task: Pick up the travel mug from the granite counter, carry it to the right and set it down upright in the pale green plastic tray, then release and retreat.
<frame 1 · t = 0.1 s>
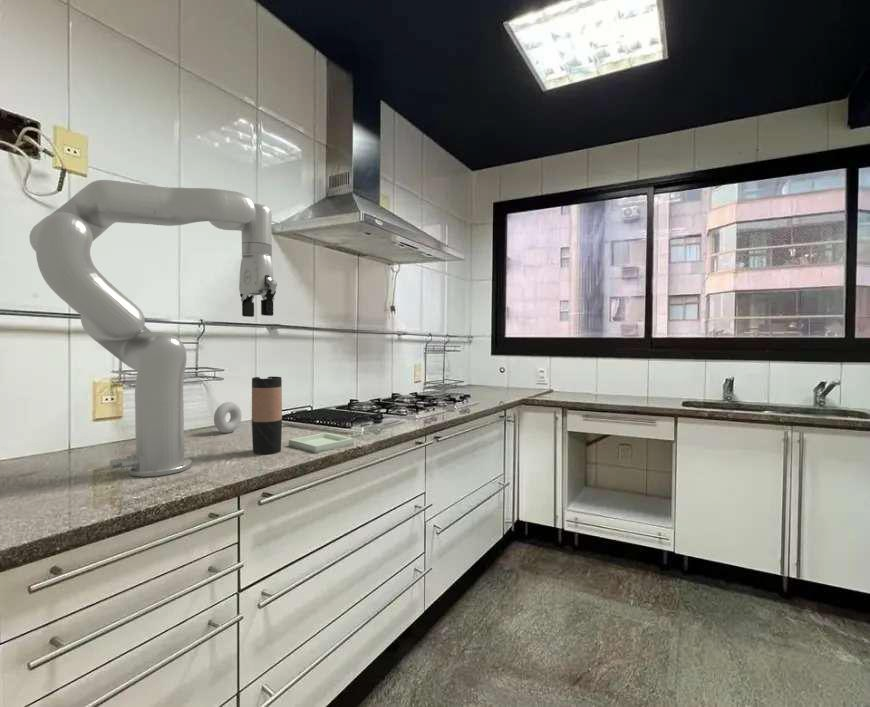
hand: (257, 316, 122), 37 cm above the countertop, tool pointing down, fingers open, 9 cm apart
donut: (228, 433, 146), on the countertop
tray: (321, 445, 130), on the countertop
travel mug: (267, 452, 122), on the countertop
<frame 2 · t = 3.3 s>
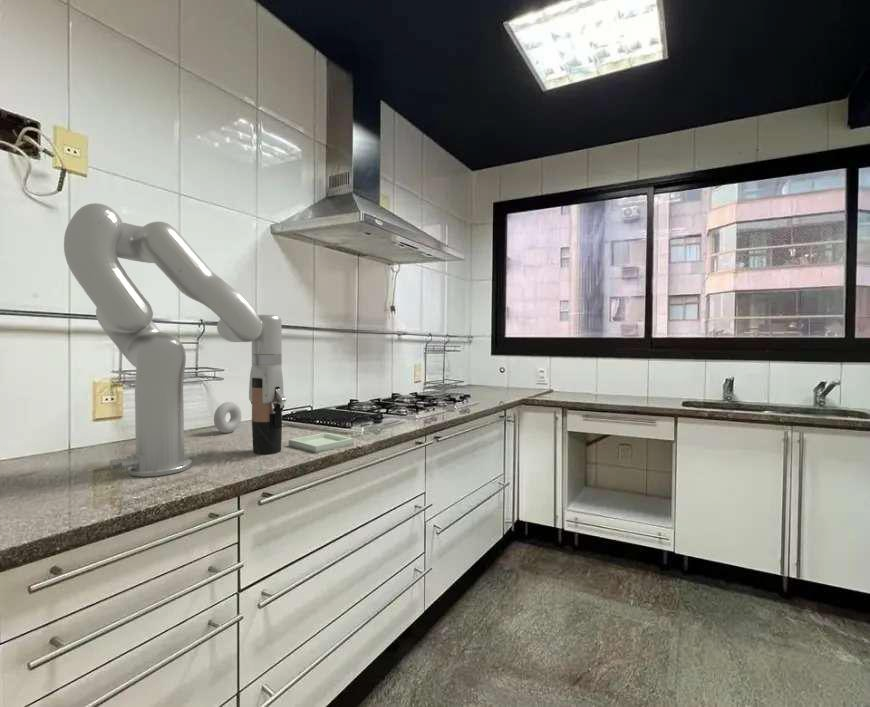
hand: (267, 425, 122), 7 cm above the countertop, tool pointing down, fingers closed on travel mug, 7 cm apart
travel mug: (267, 452, 122), on the countertop, touching gripper
everything else where it was.
when the fingers open (9 cm above the countertop, at t = 9.9 s): travel mug drops 1 cm, resting on tray.
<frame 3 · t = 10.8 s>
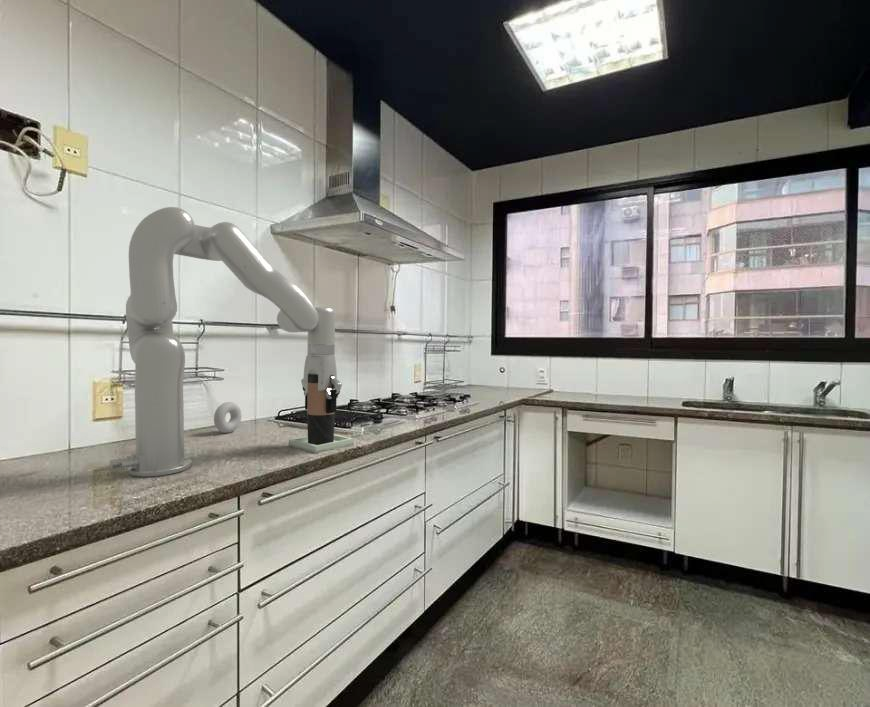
hand: (320, 410, 129), 10 cm above the countertop, tool pointing down, fingers open, 9 cm apart
travel mug: (320, 443, 129), resting on tray
everything else where it was.
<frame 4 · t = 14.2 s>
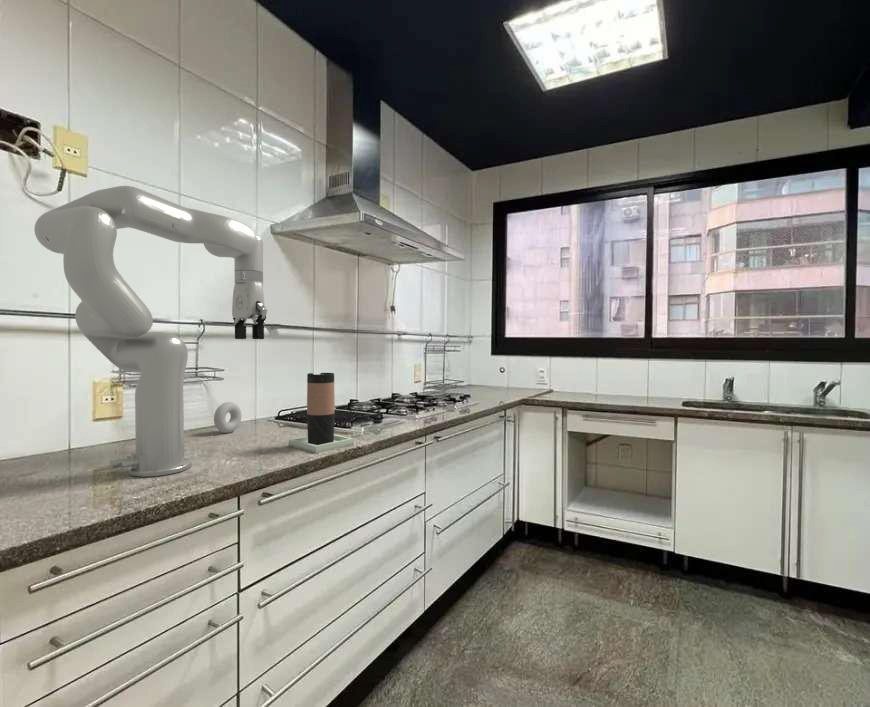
hand: (249, 339, 129), 30 cm above the countertop, tool pointing down, fingers open, 9 cm apart
nothing on the countertop moved.
at the end: travel mug inside the target area on the tray (0.2 cm from its centre), point 0.4 cm above the tray's base; travel mug tilted 0°; the gripper is holding nothing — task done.
